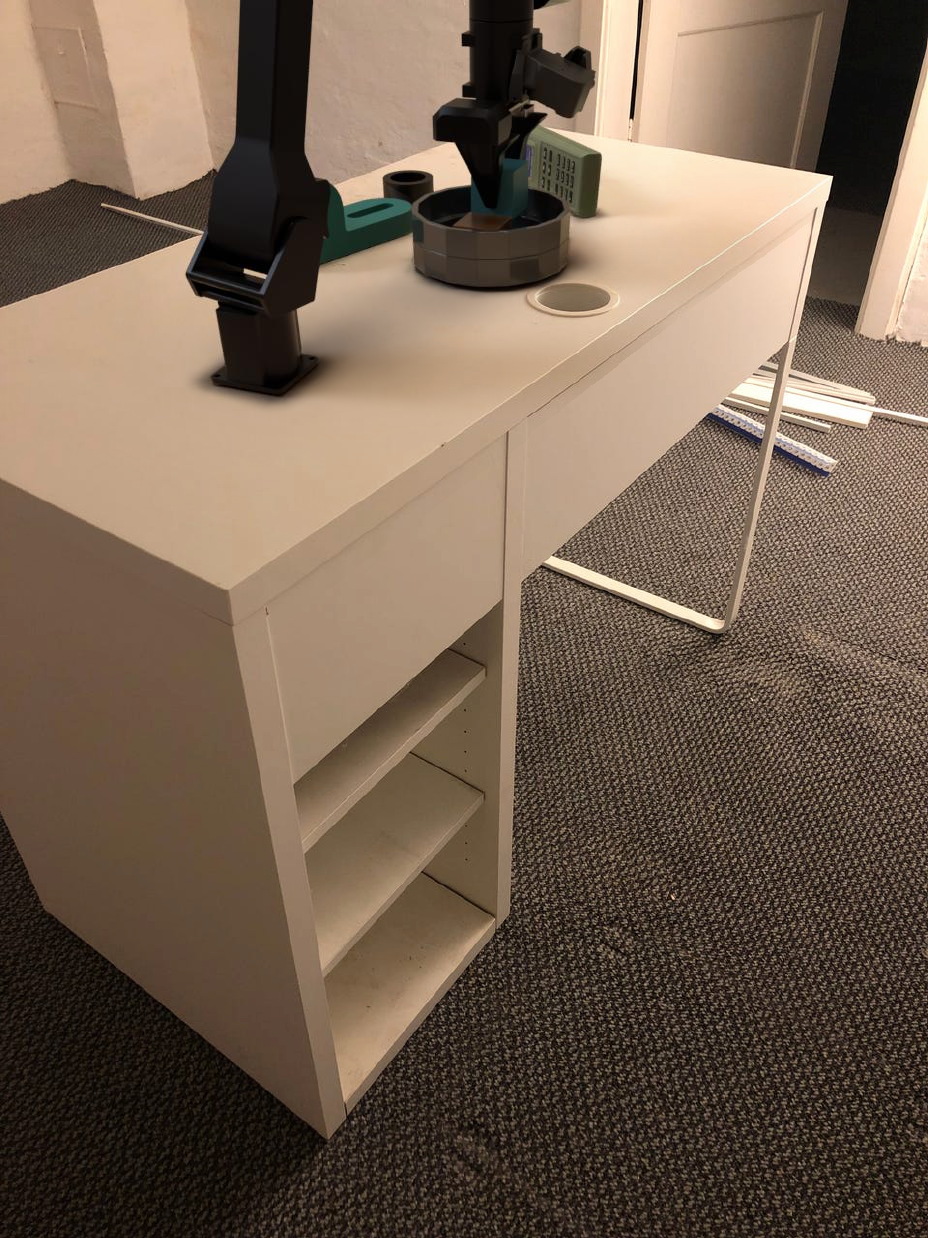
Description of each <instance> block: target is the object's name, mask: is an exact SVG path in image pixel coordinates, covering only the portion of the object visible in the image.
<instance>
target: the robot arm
mask: <svg viewBox="0 0 928 1238" xmlns="http://www.w3.org/2000/svg"><path fill="white" fill-rule="evenodd" d="M570 2H573V0H468V27H469V28H468V30H466V31H464V32H461V34H460V35H461V47H462V48H463V47H464V48H468V50H469V51H468V52H469V53H468V54H469V59H468V61H469V64H468V65H469V71H468V73H469V80H468V81H467V82H466V83H463V84H462V85H461V97H455V98H453V99H452V100H449V101H448V102H446V103H444V104H443V105H440V107H439V108H438V110H436V112H435V113H434V114H433V115H432V116H431V117H432V140H434V141H435V142H441V143H453V144H455V146H456V148H457V151H458V152H459V154H460V156H461V159H462V160H463V162H464V164H465V166H466V168H467V170H468V173H469V174H470V178H471V177H472V179H473V181H474V183H475V186H476V188H477V190H478V192H479V195H480V197H481V199H482V201H483V203H484V206H485V207H486V208H491V209H494V208H496V207H497V203H498V197H499V191H500V184H501V177H502V169H503V162H504V158H508V159H519V160H522V159H523V155H524V151H525V148H526V144H527V141H528V137H529V135H530V133H531V132H532V131H533V130H534V129H535V128H536V127H537V126H538V125H540V124H541V123H542V122H543V121H545V120H546V119H547V117H548V115H549V114H548V113H547V112H542V111H535V104H534V103H531V102H537V103H539V104H541V105H543V106H545V107H546V108H549V109H551V110H553V111H554V113H555V115H558V116H559V117H562V118H565V119H569V120H571V119H573V118H575V116H576V115H577V114H578V113H581V112H583V109H584V107H585V105H586V103H587V102H586V101H587V99H588V97H589V94H590V91H591V90H592V89H593V88H594V87H595V85H596V81H595V79H596V73H597V71H596V70H594V69H593V68H592V67H593V66H592V52H591V50H588V49H586V48H584V47H582V46H580V45H576V46H573V48H571V49H570V50H569V51H568V52H567V53H566V54H565V55H564V56H562V53H560V52H555V53H553V52H551V51H549V50H547V49H545V48H544V47H543V46H544V45H543V41H544V40H543V39H544V34H543V33H542V32H541V28H540V27H534V13H535V12H534V11H537V10H540V9H546V8H549V7H554V6H557V5H562V4H566V3H570ZM238 14H239V15H238V45H237V73H236V74H237V75H236V77H237V78H236V106H235V135H234V141H233V145H232V146H231V148H230V150H229V151H228V153H227V154H226V156H225V158H224V160H223V162H222V164H221V165H220V167H219V168H218V170H217V172H216V174H215V176H214V178H213V182H212V188H211V195H210V204H209V209H208V216H207V224H206V225H205V228H204V231H203V233H202V235H201V237H200V239H199V242H198V244H197V246H196V248H195V251H194V253H193V255H192V257H191V258H190V259H191V260H190V262H189V264H188V266H187V268H186V270H185V274H184V276H185V278H186V280H187V282H188V284H189V287H190V289H192V292H193V294H194V295H195V296H196V297H199V298H206V299H210V300H213V301H216V302H217V306H218V307H217V308H215V315H216V321H217V322H216V323H217V327H218V334H219V338H220V344H221V350H222V356H223V361H224V365H223V366H222V367H221V368H219V369H218V370H217V371H215V372H214V373H212V374H211V375H210V379H211V382H212V384H217V385H223V386H227V387H232V388H233V387H234V388H237V389H238V388H239V389H245V390H251V391H255V392H261V393H266V394H271V395H282V394H284V393H285V392H287V390H289V389H290V388H291V387H293V386H294V385H295V384H296V383H298V381H299V380H301V379H302V378H303V377H305V376H306V375H307V374H308V373H309V372H311V371H312V369H313V368H315V367H316V366H317V365H319V357H318V356H317V355H311V354H305V353H302V350H303V349H302V348H303V347H302V341H301V332H300V324H299V317H298V309H300V308H302V307H305V306H307V305H309V304H311V303H313V302H315V301H316V295H317V288H318V281H319V273H320V266H321V264H320V258H321V253H322V248H323V238H327V239H328V238H329V230H328V218H327V215H328V207H329V202H330V196H331V190H330V184H329V183H330V182H329V179H325V178H322V177H316V176H315V174H314V171H313V170H312V169H313V168H312V167H311V165H310V162H309V160H308V158H307V155H306V148H305V146H306V130H307V129H306V128H307V114H308V113H307V112H308V95H309V81H310V80H309V79H310V63H311V46H312V31H313V29H312V28H313V16H314V15H313V14H314V0H239V13H238ZM245 270H248V271H251V272H255V273H258V274H262V275H266V276H265V278H264V277H260V276H257V275H253V274H250V273H246V272H245Z"/></svg>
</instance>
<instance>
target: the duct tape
mask: <svg viewBox="0 0 928 1238" xmlns="http://www.w3.org/2000/svg"><path fill="white" fill-rule="evenodd" d="M434 185H435V183H434V175H433V174H432V173H430V172H428V171H424V170H415V169H409V170H408V169H407V170H406V169H405V170H396V171H391V172H388V173H386V174H384V175H383V176H382V191H383V198H393V199H400V200H404V201H407V202H409V203H410V204H411V205H413V203H414V202H415V201H417V200H418V199H420V198H421V197H423V196H424V195H425V194H429V193H432V192H435V189H434V188H435V187H434Z"/></svg>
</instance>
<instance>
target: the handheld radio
mask: <svg viewBox="0 0 928 1238" xmlns="http://www.w3.org/2000/svg"><path fill="white" fill-rule="evenodd" d="M522 160H528V161H529V175H528V186H530V187H534V188H538V189H542V190H546V191H550V192H553V193H555V194H557V195H559V196H560V197H562V198H564V199H566V200H567V201H568V204H569V207H570V210H571V212H570V213H573V214H574V215H576V216H578V217H580V218H581V219H585V218H590V217H595V216H596V214H597V210H598V204H599V193H600V183H601V174H602V163H603V155H602V153H601V152H600V151H599V150H598V151H597V150H596V149H593V148H592V147H589V146H587V145H585V144H582V143H580V142H578V141H576V140H574V139H572V138H568V137H567V136H564V135H563V134H560V133H558V132H556V131H554V130H552V129H549V128H547V127H545V126H544V125H543V126H542V125H540V124H539V125H538V126H537V127H536V128H535V129H534V130H533V131H532V132H531V133H530V135H529V137H528V141H527V144H526V148H525V151H524V155H523V159H522Z"/></svg>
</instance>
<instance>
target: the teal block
mask: <svg viewBox="0 0 928 1238" xmlns="http://www.w3.org/2000/svg"><path fill="white" fill-rule="evenodd" d="M528 175H529V161H528V160H519V159H508V158H504V162H503V169H502V177H501V184H500V191H499V197H498V203H497V207H496V208H494V209H491V208H486V207H485V206H484V203H483V201H482V199H481V197H480V195H479V192H478V190H477V188H476V186H475V183H474V181H473V179H472V177H471V176H470V185H471V212H474V213H483V214H492V215H501V216H510V217H512V220H513V219H514V218H516V217H517V216H518V215H519V214H520V213H521V212H522V211H524V210H525V209H526V208H527V207H528Z"/></svg>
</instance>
